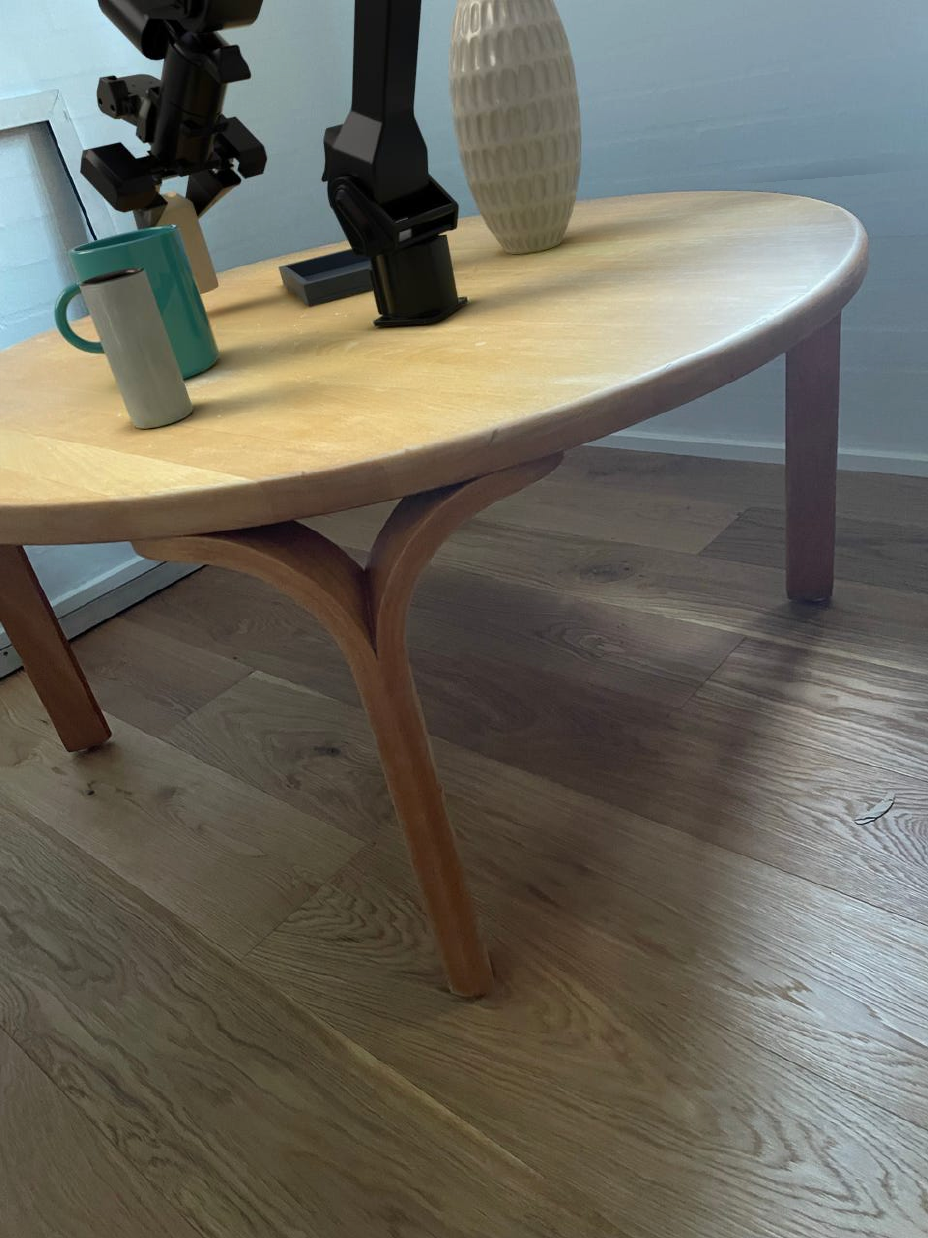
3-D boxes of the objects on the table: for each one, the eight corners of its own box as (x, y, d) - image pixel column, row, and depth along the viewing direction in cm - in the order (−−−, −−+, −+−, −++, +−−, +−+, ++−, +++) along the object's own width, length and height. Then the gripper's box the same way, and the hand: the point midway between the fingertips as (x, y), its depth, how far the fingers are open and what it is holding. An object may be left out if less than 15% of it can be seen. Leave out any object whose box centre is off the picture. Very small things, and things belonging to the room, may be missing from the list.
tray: (441, 271, 97) (437, 250, 96) (308, 306, 94) (303, 284, 93) (400, 255, 110) (397, 236, 109) (283, 286, 107) (278, 266, 106)
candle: (206, 294, 96) (172, 192, 91) (160, 302, 98) (125, 202, 93) (227, 282, 101) (196, 184, 96) (183, 290, 102) (151, 193, 97)
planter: (140, 414, 70) (88, 276, 65) (198, 402, 70) (150, 263, 65) (126, 433, 66) (70, 288, 61) (187, 421, 66) (135, 274, 61)
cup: (88, 382, 83) (35, 253, 77) (217, 348, 85) (176, 220, 79) (82, 408, 75) (23, 266, 69) (225, 370, 77) (179, 229, 71)
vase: (598, 246, 93) (564, -99, 78) (475, 269, 94) (419, -65, 80) (586, 226, 104) (554, -80, 89) (476, 247, 105) (426, -51, 91)
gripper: (212, 24, 91) (185, 159, 103) (46, 47, 79) (38, 195, 92) (287, 101, 90) (251, 228, 102) (130, 136, 78) (110, 273, 91)
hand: (165, 229), depth 97 cm, fingers closed on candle, 5 cm apart
